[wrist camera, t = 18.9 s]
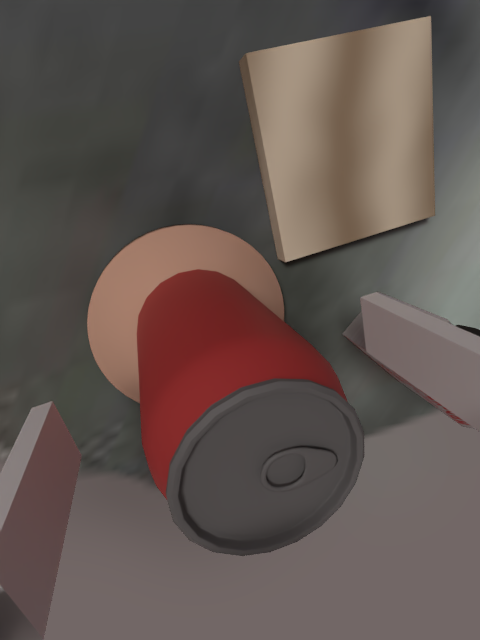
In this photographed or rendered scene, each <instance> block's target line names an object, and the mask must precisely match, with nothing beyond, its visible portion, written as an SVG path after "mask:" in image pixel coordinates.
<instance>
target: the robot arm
mask: <svg viewBox="0 0 480 640" xmlns="http://www.w3.org/2000/svg"><path fill="white" fill-rule="evenodd" d="M360 299H361V308H362V317H363V326H364V336H365V345H366V352H367V353H369V354H370V355H371V356H373V357H374V358H376V359H377V360H378V361H380V362H381V363H383V364H384V365H386V366H387V367H388V368H390V369H391V370H393V371H394V372H395V373H397V374H398V375H400V376H401V377H403V378H404V379H405V380H407V381H408V382H410V383H411V384H412V385H414V386H415V387H417V388H418V389H420V390H421V391H422V392H424V393H425V394H427V395H428V396H430V397H431V398H432V399H434V400H435V401H437V402H438V403H439V404H441V405H442V406H444V407H445V408H447V409H448V410H449V411H451V412H452V413H454V414H455V415H456V416H458V417H459V418H461V419H462V420H464V421H465V422H466V423H468V424H469V425H471V426H472V427H473V428H475V429H476V430H478V431H479V432H480V330H478V329H476V328H472V327H467V326H461V325H456V326H454V325H451V324H449V323H447V322H444V321H442V320H440V319H437V318H435V317H433V316H430V315H428V314H426V313H423V312H421V311H419V310H416V309H414V308H412V307H409V306H407V305H405V304H402V303H400V302H398V301H395V300H393V299H391V298H388V297H386V296H384V295H381V294H379V293H377V292H375V293H372V294H369V295H366V296H363V297H360ZM80 461H81V454H80V452H79V450H78V448H77V446H76V444H75V442H74V440H73V439H72V437H71V435H70V433H69V431H68V429H67V427H66V425H65V424H64V422H63V420H62V418H61V416H60V414H59V412H58V410H57V408H56V407H55V405H54V403H53V401H51V402H48V403H45V404H42V405H39V406H36V407H33V408H32V409H31V411H30V413H29V415H28V417H27V419H26V421H25V423H24V425H23V427H22V429H21V431H20V433H19V436H18V438H17V440H16V442H15V444H14V446H13V448H12V450H11V452H10V454H9V456H8V458H7V460H6V463H5V465H4V467H3V469H2V471H1V473H0V640H43V639H44V633H45V630H46V625H47V620H48V615H49V610H50V605H51V601H52V596H53V591H54V586H55V581H56V577H57V572H58V567H59V562H60V557H61V552H62V548H63V543H64V538H65V533H66V528H67V524H68V519H69V513H70V509H71V504H72V499H73V495H74V490H75V485H76V480H77V475H78V471H79V466H80Z"/></svg>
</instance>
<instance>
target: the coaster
mask: <svg viewBox="0 0 480 640" xmlns="http://www.w3.org/2000/svg"><path fill="white" fill-rule="evenodd" d="M196 269H201V270H209V271H217V272H219V273H222V274H224V275H226V276H228V277H230V278H232V279H234V280H235V281H236V282H238V283H239V284H240V285H241V286H242V287H244V288H245V289H246V290H247V291H248V292H250V293H251V294H252V295H253V296H254V297H255V298H257V299H258V300H259V301H260V302H261V303H263V304H264V305H265V306H266V307H267V308H268V309H270V310H271V311H272V312H273V313H274V314H276V315H277V316H278V317H279V318H280V319H281V320H283V321H284V303H283V296H282V293H281V289H280V285H279V283H278V281H277V278H276V276H275V274H274V272H273V271H272V269H271V267H270V266H269V264H268V263H267V262H266V260H265V259H264V258H263V257H262V255H261V254H260V253H258V252H257V251H256V250H255V249H254V248H253V247H252V246H251V245H249V244H248V243H246V242H245V241H243V240H242V239H240V238H238V237H236V236H234V235H232V234H230V233H228V232H226V231H223V230H220V229H217V228H214V227H210V226H205V225H197V224H179V225H171V226H166V227H161V228H158V229H156V230H153V231H150V232H147V233H145V234H143V235H142V236H140V237H138V238H136V239H134V240H133V241H131V242H130V243H129V244H127V245H126V246H124V247H123V248H122V249H121V250H120V251H119V252H118V253H117V254H116V255H115V256H114V257H113V258H112V259H111V260H110V262H109V263H108V264H107V265H106V267H105V268H104V270H103V272H102V273H101V275H100V277H99V279H98V281H97V284H96V286H95V288H94V291H93V294H92V297H91V301H90V305H89V310H88V320H87V325H88V337H89V342H90V347H91V350H92V352H93V355H94V358H95V360H96V362H97V364H98V366H99V368H100V369H101V371H102V372H103V374H104V375H105V376H106V378H107V379H108V380H109V381H110V382H111V383H112V384H113V385H114V386H115V387H116V388H117V389H118V390H119V391H121V392H122V393H123V394H125V395H126V396H128V397H129V398H131V399H133V400H135V401H136V402H138V403H140V392H139V372H138V352H137V325H138V315H139V313H140V311H141V309H142V306H143V304H144V302H145V300H146V298H147V297H148V295H149V294H150V293H151V292H152V291H153V290H154V289H155V288H156V287H157V286H158V285H159V284H160V283H161V282H163V281H165V280H167V279H168V278H170V277H172V276H174V275H176V274H177V273H181V272H186V271H191V270H196Z"/></svg>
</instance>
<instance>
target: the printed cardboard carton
mask: <svg viewBox="0 0 480 640" xmlns="http://www.w3.org/2000/svg"><path fill="white" fill-rule="evenodd" d="M377 293H379V294H381V295H384V296H386V297H388V298H391V299H393V300H395V301H398V302H400V303H402V304H405V305H407V306H409V307H412V308H414V309H416V310H419V311H421V312H423V313H426V314H428V315H430V316H433V317H435V318H437V319H440V320H442V321H444V322H447V323H449V324H451V323H450V322H449V321H448V320H447V319H445V318H443V317H440V316H438V315H435V314H433V313H430V312H428V311H425V310H423V309H420V308H418V307H415V306H413V305H410V304H408V303H405V302H403V301H400V300H398V299H395V298H393V297H391V296H388V295H386V294H383V293H381V292H378V291H377ZM451 325H452V324H451ZM343 335H344V336H345V337H346V338H347V339H349V340H350V341H351V342H352V343H353V344H355V345H356V346H357V347H358V348H359V349H361V350H362V351H363V352H364V353H365V354H367V355H368V356H369V357H370V358H371V359H373V360H374V361H375V362H376V363H377V364H378V365H380V366H381V367H382V368H383V369H384V370H386V371H387V372H388V373H389V374H390V375H392V376H393V377H394V378H395V379H396V380H398V381H399V382H400V383H402V384H403V385H405V386H406V387H408V388H409V389H410V390H412V391H413V392H415V393H416V394H417V395H419V396H420V397H422V398H423V399H424V400H426V401H427V402H429V403H430V404H432V405H433V406H434V407H436V408H437V409H439V410H440V411H441V412H443V413H444V414H446V415H447V416H449V417H450V418H452V419H453V420H454V421H456V422H457V423H459V424H460V425H461V426H463V427H469V428H473V427H472V426H471V425H469V424H468V423H466V422H465V421H464V420H462V419H461V418H459V417H458V416H456V415H455V414H454V413H452V412H451V411H449V410H448V409H447V408H445V407H444V406H442V405H441V404H439V403H438V402H437V401H435V400H434V399H432V398H431V397H430V396H428V395H427V394H425V393H424V392H422V391H421V390H420V389H418V388H417V387H415V386H414V385H412V384H411V383H410V382H408V381H407V380H405V379H404V378H403V377H401V376H400V375H398V374H397V373H395V372H394V371H393V370H391V369H390V368H388V367H387V366H386V365H384V364H383V363H381V362H380V361H378V360H377V359H376V358H374V357H373V356H371V355H370V354H369V353H367V352H366V345H365V336H364V326H363V317H362V311H361V312H360V313H359V314H358V316H357V317H356V318H355V319H354V320H353V322H352V323H351V324H350V325H349V326H348V328H347V329H346V330H345V331H344V332H343ZM473 429H475V428H473Z"/></svg>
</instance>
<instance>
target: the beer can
mask: <svg viewBox="0 0 480 640" xmlns="http://www.w3.org/2000/svg"><path fill="white" fill-rule="evenodd" d="M137 352H138V372H139V392H140V413H141V433H142V445H143V449H144V452H145V456H146V459H147V462H148V466H149V469H150V472H151V474H152V477H153V479H154V482H155V484H156V486H157V487H158V489H159V490H160V491H161V493H162V494H163V495H164V497H165V498H166V499H167V501H168V504H169V508H170V511H171V515H172V518H173V521H174V523H175V524H176V525H177V526H178V527H179V528H180V530H181V531H182V532H183V533H184V534H185V536H186V537H187V538H188V539H189V540H190V541H192V542H194V543H196V544H198V545H200V546H202V547H204V548H206V549H208V550H210V551H212V552H216V553H224V554H231V555H240V556H245V555H253V554H260V553H267V552H271V551H274V550H277V549H279V548H282V547H284V546H287V545H290V544H292V543H295V542H297V541H299V540H300V539H302V538H303V537H305V536H307V535H308V534H310V533H311V532H313V531H314V530H316V529H317V528H319V527H320V526H322V525H323V523H325V521H327V520H328V519H329V518H330V517H331V515H333V514H334V512H336V511H337V510H338V508H340V507H341V505H342V504H343V502H344V501H345V499H346V497H347V496H348V494H349V493H350V491H351V490H352V488H353V487H354V485H355V483H356V480H357V477H358V474H359V471H360V468H361V465H362V461H363V458H364V431H363V428H362V426H361V423H360V421H359V418H358V416H357V413H356V411H355V409H354V408H353V407H352V406H351V405H350V404H349V403H348V402H347V399H346V396H345V394H344V392H343V389H342V387H341V384H340V382H339V380H338V377H337V375H336V373H335V372H334V370H333V368H332V367H331V365H330V363H329V362H328V361H327V360H326V359H325V358H324V357H323V356H322V355H321V354H320V353H319V352H318V351H317V350H316V349H315V348H314V347H313V346H312V345H311V344H310V343H309V342H307V341H306V340H305V339H304V338H303V337H302V336H300V335H299V334H298V333H297V332H296V331H294V330H293V329H292V328H291V327H290V326H289V325H287V324H286V323H285V322H284V321H283V320H281V319H280V318H279V317H278V316H277V315H276V314H274V313H273V312H272V311H271V310H270V309H268V308H267V307H266V306H265V305H264V304H263V303H261V302H260V301H259V300H258V299H257V298H255V297H254V296H253V295H252V294H251V293H250V292H248V291H247V290H246V289H245V288H244V287H242V286H241V285H240V284H239V283H238V282H236V281H235V280H234V279H232V278H230V277H228V276H226V275H224V274H222V273H219V272H217V271H209V270H201V269H196V270H191V271H186V272H181V273H177V274H176V275H174V276H172V277H170V278H168V279H167V280H165V281H163V282H161V283H160V284H159V285H158V286H157V287H156V288H155V289H154V290H153V291H152V292H151V293H150V294H149V295H148V297H147V298H146V300H145V302H144V304H143V306H142V309H141V311H140V313H139V315H138V325H137Z"/></svg>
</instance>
